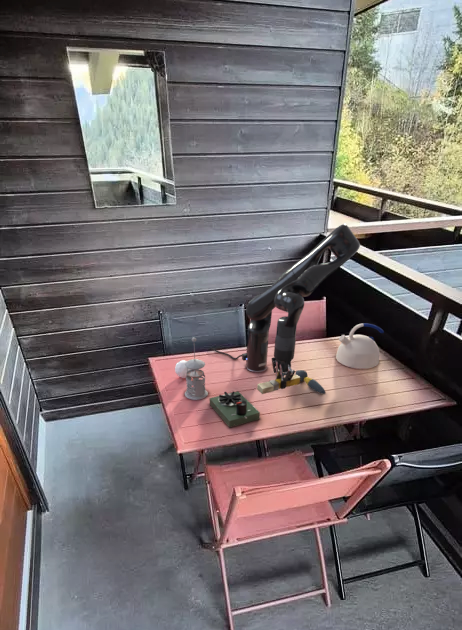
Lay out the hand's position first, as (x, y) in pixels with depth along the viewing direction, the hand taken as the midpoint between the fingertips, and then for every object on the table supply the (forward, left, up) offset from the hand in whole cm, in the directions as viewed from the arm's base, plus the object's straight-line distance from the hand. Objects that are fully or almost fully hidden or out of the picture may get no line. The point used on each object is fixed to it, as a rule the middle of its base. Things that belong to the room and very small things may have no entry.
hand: (280, 386), depth 172 cm
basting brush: (0, -1, 0) cm, 1 cm away
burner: (-7, -18, -6) cm, 21 cm away
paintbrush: (-8, +20, -9) cm, 24 cm away
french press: (-24, -27, -9) cm, 37 cm away
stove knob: (+2, -18, -6) cm, 19 cm away
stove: (-4, -19, -9) cm, 21 cm away
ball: (-39, -25, -9) cm, 47 cm away
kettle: (-19, +56, -9) cm, 59 cm away
